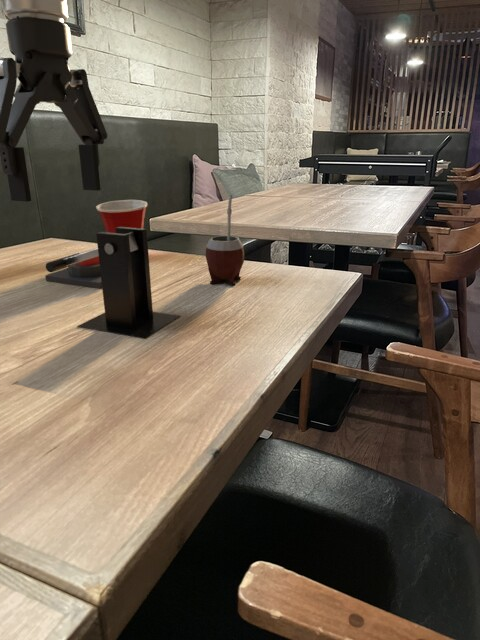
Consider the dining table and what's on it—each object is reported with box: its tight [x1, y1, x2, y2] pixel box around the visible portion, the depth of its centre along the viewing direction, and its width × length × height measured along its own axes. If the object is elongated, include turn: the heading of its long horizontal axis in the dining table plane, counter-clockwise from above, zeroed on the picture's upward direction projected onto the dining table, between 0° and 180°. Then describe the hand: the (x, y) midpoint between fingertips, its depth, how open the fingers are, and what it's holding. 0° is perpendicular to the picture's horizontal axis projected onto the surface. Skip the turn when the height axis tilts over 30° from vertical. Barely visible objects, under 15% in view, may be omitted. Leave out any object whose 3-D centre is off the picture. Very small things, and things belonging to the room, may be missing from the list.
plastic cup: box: [95, 199, 148, 233], centre depth 107 cm, size 11×11×12 cm
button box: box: [44, 264, 102, 290], centre depth 90 cm, size 12×10×4 cm
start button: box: [77, 252, 100, 266], centre depth 89 cm, size 4×4×2 cm
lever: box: [45, 232, 139, 273], centre depth 67 cm, size 13×6×2 cm, turn 66°
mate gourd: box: [205, 194, 246, 287], centre depth 89 cm, size 8×8×15 cm
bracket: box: [76, 227, 181, 340], centre depth 67 cm, size 11×9×14 cm
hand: (59, 195), depth 69 cm, fingers open, 13 cm apart
